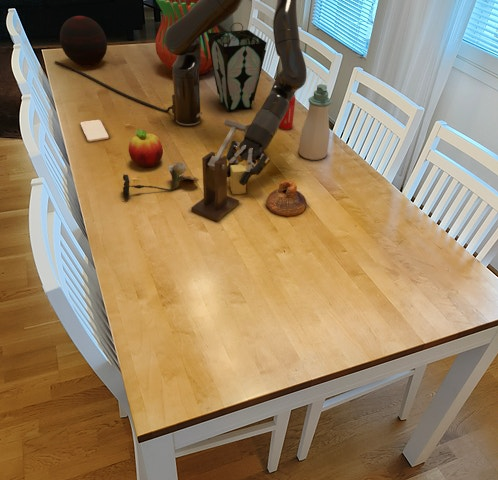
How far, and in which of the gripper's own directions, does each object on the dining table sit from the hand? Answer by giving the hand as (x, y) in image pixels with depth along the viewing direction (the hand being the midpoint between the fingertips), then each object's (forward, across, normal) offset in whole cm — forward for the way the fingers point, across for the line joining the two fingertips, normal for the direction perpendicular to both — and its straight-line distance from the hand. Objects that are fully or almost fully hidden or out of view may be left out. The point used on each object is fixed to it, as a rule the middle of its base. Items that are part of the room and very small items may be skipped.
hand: (234, 180), depth 135 cm
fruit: (+8, -32, -2) cm, 33 cm away
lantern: (-30, -45, +36) cm, 65 cm away
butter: (+2, 0, +4) cm, 5 cm away
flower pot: (-13, -12, +19) cm, 26 cm away
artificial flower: (+13, -17, -7) cm, 23 cm away
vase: (-40, -87, +46) cm, 106 cm away
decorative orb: (-19, -124, +24) cm, 127 cm away
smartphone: (+8, -63, -2) cm, 63 cm away
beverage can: (-30, -18, +36) cm, 50 cm away
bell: (-1, +15, +7) cm, 17 cm away
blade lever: (-5, +1, -12) cm, 13 cm away
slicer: (+10, +2, -4) cm, 11 cm away
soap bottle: (-23, +2, +29) cm, 37 cm away
